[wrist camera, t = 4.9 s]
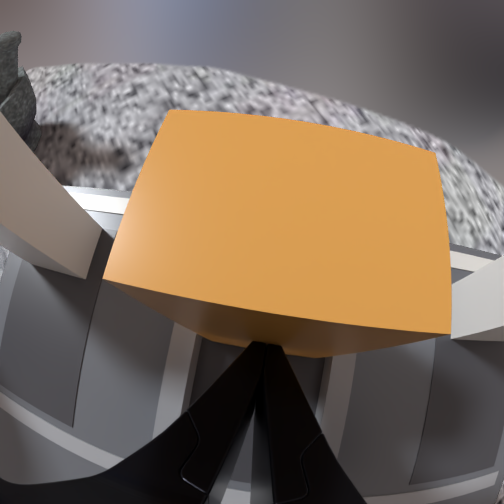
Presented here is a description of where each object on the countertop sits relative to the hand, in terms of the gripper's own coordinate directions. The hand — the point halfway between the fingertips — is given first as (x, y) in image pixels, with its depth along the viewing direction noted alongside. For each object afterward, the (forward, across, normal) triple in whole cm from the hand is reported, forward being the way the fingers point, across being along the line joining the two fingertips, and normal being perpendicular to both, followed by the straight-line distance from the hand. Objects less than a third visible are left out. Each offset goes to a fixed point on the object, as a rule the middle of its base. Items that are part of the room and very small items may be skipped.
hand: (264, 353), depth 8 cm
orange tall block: (+4, 0, +2) cm, 5 cm away
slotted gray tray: (+2, 0, +8) cm, 8 cm away
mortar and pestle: (+15, +26, -4) cm, 30 cm away
